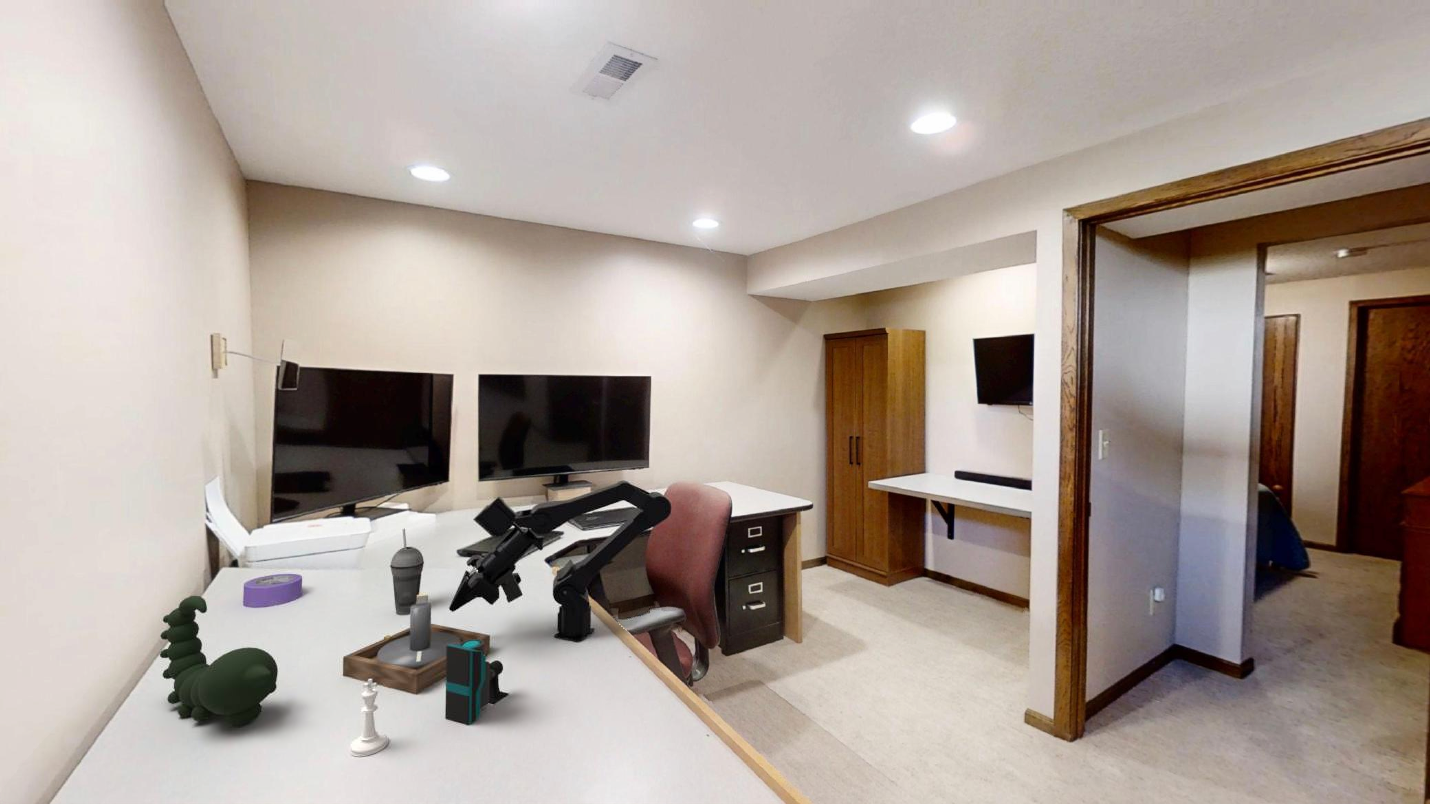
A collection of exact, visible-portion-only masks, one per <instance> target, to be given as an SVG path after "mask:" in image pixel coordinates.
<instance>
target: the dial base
mask: <svg viewBox="0 0 1430 804" xmlns="http://www.w3.org/2000/svg"><path fill="white" fill-rule="evenodd" d="M431 632H445V633H451V634H454V635H456V636H458V637H459V638H460V643H462V642H463V641H466V640H470V639H481V640H483V641H484V655H485V656H486V655H487V654H489V653H490V652H491V649H490V648H491V646H490V645H491V634H486V633H481V632H476V631H471V630H466V629H460V628H455V627H449V626H445V625H439V624H436V623H431ZM409 635H410V627H408V628H406V629H404V630H401V631H399V632H397V633H394V634H392V635H390V634H388V635H386V636H384V637H383V639H381V640H379V641H377V642H374V643H372V644H370V645H367V646H364V647H363V648H360V649H358V650H356V651H353V652H351V653H349V654H346V655H344V656H342V676H343V677H347V678H351V679H354V680H359V681H362V682H365V683H368V680H369V679H372V683H377V685H378V686H383V687H385V688H389V689H392V690H393V689H394V690H398V691H401V692H405V693H409V694H412V695H418V694H419V693H421V692H423V691H426V689H428V688H430V687H432V686H433V685H435V684H437V683H438V682H440V681H443V679H446V655H445V656H443V657H441V658H439V659H438V660H436V661H434V662H432V663H430V664H428V665H426V666H424V667H422V668H420V669H419V670H414V669H410V668H405V667H401V666H397V665H393V664H389V663H384V662H380V661H377V654H378V651H379V650H380V649H381V648H382V647H383V646H385V645H386V644H388V643H390V642H392V641H394V640H397V639H399V638H402V637H406V636H409Z"/></svg>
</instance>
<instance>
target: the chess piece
mask: <svg viewBox="0 0 1430 804" xmlns="http://www.w3.org/2000/svg"><path fill="white" fill-rule="evenodd" d="M362 686H363V688H367V689H366V690H365V691H363V692H362V693H361V696H362V700H363V702H364V705H365V706H363V707H362V708H361V711H360V712H361V713H362V714H365V715H364V716H365V717H364V725H363V729H362V734H361V735H360V736H359V737H357V738H356V739H354V740H352V742H351V743H350V745H349V750H348V753H349V754H350V756H353V757H358V758H359V757H360V758H361V757H367V756H371V755H373V754H376V753H378V752H380V751H383V749H384V748H386V747H387V745H388V743H389V740H388V739H389V738H388V735H387V734H386V733H384V732H380V731H379V732H378V731H377V730H376V727H375V717H374V712H375V711H377V710H378V709H379V707H378V704H375V701H376V698H377V696H378V689H374V688H376V687H377V683H372V679H369V680H368V682H365V683H363V684H362Z"/></svg>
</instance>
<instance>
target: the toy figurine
mask: <svg viewBox="0 0 1430 804" xmlns="http://www.w3.org/2000/svg"><path fill="white" fill-rule="evenodd" d="M207 605H208V604H207V602H206V600H205V598H203V597H202V596H199V595H190V596H188V597H185V598H184V599H182V600H181V601H180V602H179V605H178V607H177V608H174V609H173V610H171V612H170V613H169V614H166V615H164V616H163V618H162V621H163V622H164V623H165V624H167V625H168V626H169V628H167V630H165V629H164V631H163V632H161V634H160V638H161V639H162V640H166V641H168V642H169V643H170V644H169V645H168V648H166V649H165V648H164V649H163V650H161V651H160V654H159V657H160V658H161V659H169V661H170V663H169V664H168V667H167V668H166V669H164V670H163V673H162V678H164V679H166V680H170V679H172V680H174V681H173V691H171V693H169V694H168V696H167V702H168V704H171V705H175V704H179V703H181V705H179V708H178V710H177V714H178V716H179V717H182V718H183V717H184V718H186V717H189V716H191V718H192V719H193V720H194V721H196V722H202V721H205V720H207V719H208V718H209V717H210V716H211V715H213V713H214V714H216V715H221V716H223V715H225V716H226V721H227V724H228V725H229V726H231V727H234V728H236V727H241V726H244V725H247V724H250V723H251V722H253V721H255V720H256V719H257V718H258V717H259V716H260V714H261V713H262V708H263V707H262V705H261V702H262V701H264V700H265V699H266V698H267V697H268V696H270V695H271V694H272V693H275V691H276V690H277V688H278V687H277V686H278V685H277V680H278V672H279V671H278V670H279V669H278V665H277V661H276V660H275V659H274V657H273V656H272V655H271V654H270V653H268V651H265V650H263V649H261V648H258V647H242V648H238V649H237V648H236V649H233V650H230V651H228V652H226V653H224V654H223V655H220V656H219V657H218V658H216V659H215V660H214V661H212V662H211V663H210V664H208V661H207V657H206V655H205V653H203V652H202V649H203V643H202V640H201V638H199V636H198V635H199V631H200V627H199V624H198V622H197V621H195V620H196V616H197V614H196V611H197V610H198V612H199V613H201V614H205V613H207V612H208V607H207Z"/></svg>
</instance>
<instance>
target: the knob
mask: <svg viewBox="0 0 1430 804" xmlns="http://www.w3.org/2000/svg"><path fill="white" fill-rule="evenodd" d="M409 617H410V618H409V624H410V625H409V628H410V635H409V636H406V637H402V638H399V639H397V640H394V641H392V642H390V643H388V644H386V645H385V646H383V647H382V648H381V649H380V650H379V651H378V654H377V661H380V662H384V663H389V664H393V665H397V666H401V667H405V668H410V669H414V670H419V669H420V668H422V667H424V666H426V665H428V664H430V663H432V662H434V661H436V660H438V659H439V658H441V657H443V656H445V655H446V645H448V644H453V645H458V646H459V644H460V638H459V637H458V636H456V635H454V634H451V633H445V632H431V624H432V604H431V603H430V602H429V594H428V593H422V594H421V593H420V594H419V595H417V602H416V604H415V605H413V606H411V607H410V614H409Z"/></svg>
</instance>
